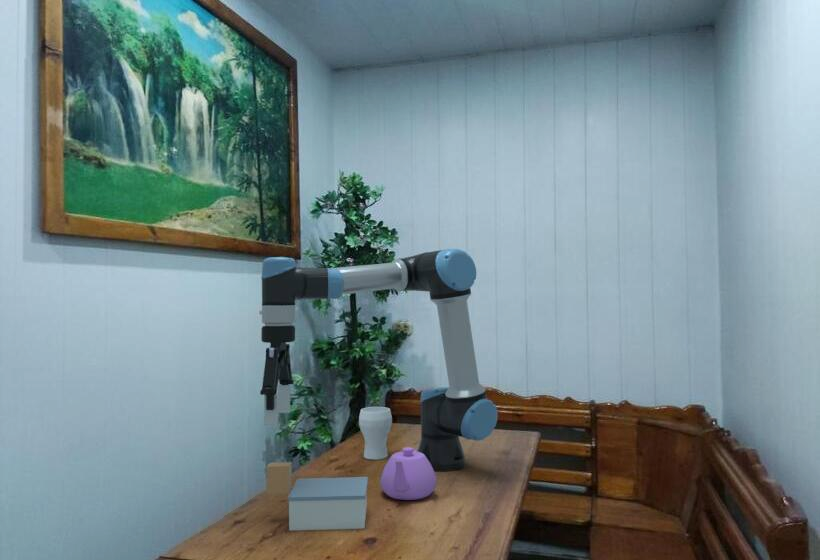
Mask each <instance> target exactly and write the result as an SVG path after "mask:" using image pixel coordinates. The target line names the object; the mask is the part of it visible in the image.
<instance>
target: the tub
mask: <svg viewBox="0 0 820 560" xmlns="http://www.w3.org/2000/svg"><path fill="white" fill-rule="evenodd" d="M367 493H368V490H367V491H366V499H359V500H321V501H288V529H289V531H290V532H292V531H293V532H294V531H321V530H323V531H325V530H328V531H329V530H359V529H363V530H364V529H365V525H366V518H367V517H366V515H367V507H368V505H367V502H368V501H367Z"/></svg>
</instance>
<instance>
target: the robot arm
mask: <svg viewBox="0 0 820 560" xmlns="http://www.w3.org/2000/svg"><path fill="white" fill-rule="evenodd" d="M296 263H297V262H296V260H295V259H294V258H292V257H283V256H277V257H276V256H275V257H273V256H272V257H266V258H265V259H263V261H262V268H261V278H260V279H261V299H262V300H261V309H260V310H259V314H260V315H261V323H262V324H264V325H263V326H262V327H261V335H260V336H261V338H260V339H261V342H262V343H265V344H267V343H269V344H270V345H269V347H266V348H265V362H264V370H263V377H262V386H261V390H259V391H260V395H261V396H264V398H263V399H264V401H263V402H264V404H263V405H264V408H263V411H264V413H263V416H264V417H263V420H264V421H263V422H264V423H263V424H264V426H277V425H278V422H279V421H278V419H279V418H278V417H279V415H278V414H284V413H285V414H287V413H288V414H290V413H291V385H294V381H295V380H294V379H293V375H292V364H291V362H292V361H291V352H290V351H291V350H290V347H291V346H290V344H289V343H293V342H294V341H296V327H295V325H294V324H295V323H296V301H305V300H308V301H309V300H337V299H339V298H341V296H342V295H350V294H351V295H352V294H358V293H369V292H376V291H385V290H386V291H387V290H393V289H394V290H395V291H397V292H404V291H409V292H411V291H413V292H415V291H416V292H429V293H428V294H429V298H430V301H431V302H433V303H434V304H435V305H436V308H437V315H438V320H439V321H438V322H439V328H440V335H441V341H442V346H443V347H442V348H443V355H444V360H445V368H446V373H447V374H446V375H447V380H448V386H447V387H446V386H445V387H443V386H442V387H432V388H426V389H423V390H422V391H421V393H420V401H419V404H420V432H421V433H420V438H421V439H420V442H419V445H418V448H417V451H418V452H421V453H423V454H424V455H425V456H426V458H427V459H428V461H429V462H430V464H431V466H432V468H433V470H434V472H448V471H456V470H459V469H462V468H463V467H465V465H466V455H465V451H464V449H463V446H462V442H461V440H460V437H462V438H464V439H466V440H468V441H470V440H472V441H476V442H477V441H478V442H479V441H482V440H485V439H486V438H488V437H489V436H490V435H491V434H492V433H493V431H494V428H496V426H497V422H498V417H499V416H498V414H499V413H498V408H497V406H496V404H495V403H494V402H493V401H492V400H490V399H488V395H487V391H486V387H485V386H483V384H481V383H480V381H479V373H478V366H477V361H476V360H477V359H476V354H475V346H474V339H473V333H472V327H471V319H470V313H469V307H468V299H469V298H470V296H471V295H472V291H471V287H472V286H473V285H474V284H475V280H477V267H476V264H475V261H474V259H473V258H472V256H470V254H468V253H467V252H466V251H464V250H462V249H459V248H445V249H440V250H435V251H434V250H433V251H427V252H422V253H418V254H416V255H412V256H408V257H402V258H395V259H393V260H392V261H391V262H386V263H385V262H384V263H378V264H377V263H373V264H363V265H362V264H361V265H352V266H344V267H342V266H340V267H325V268H323V267H301V266H297V264H296Z"/></svg>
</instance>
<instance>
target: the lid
mask: <svg viewBox="0 0 820 560" xmlns="http://www.w3.org/2000/svg"><path fill="white" fill-rule="evenodd" d="M292 465H293V463H292V462H291V461H289V462H286V461H283V462H269V463H268V464H267V466H266V495H283V494H288V495H287V501H286V502H289V501H321V500H359V499H366V491H367V492H368V483H369V477H368V476H355V477H354V476H351V477H348V476H347V477H346V476H345V477H344V476H343V477H313V478H312V477H310V478H309V477H308V478H302V477H301V478H296V481H295V483H294V484H293V481H292V480H293V475H292V473H293V470H292V468H293V466H292Z"/></svg>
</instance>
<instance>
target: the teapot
mask: <svg viewBox="0 0 820 560" xmlns="http://www.w3.org/2000/svg"><path fill="white" fill-rule="evenodd" d="M380 487H381V490H382V491H383V492H384V493H385V494H386V495H387V496H388V497H390V498H391V499H395V500H400V501H401V500H402V501H414V500H422V499H425V498H426V497H429V496H430V495H431V494H432V493H433V492H434V490H435V489H436V487H437V477H436V473H435V471H434V470H433V468H432V466H431V464H430V462H429V461H428V459H427V458H426V456H425V455H424V454H423V453H421V452H418V449H415V448H413V447H410V446H408V447H407V446H405V447H403V448H402V450H401V451H397V452H395V453H393V454H392V455H391V456H390V457H389V459H388V461H387V462H386V465H385V466H384V468H383V471H382V474H381V478H380Z"/></svg>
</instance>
